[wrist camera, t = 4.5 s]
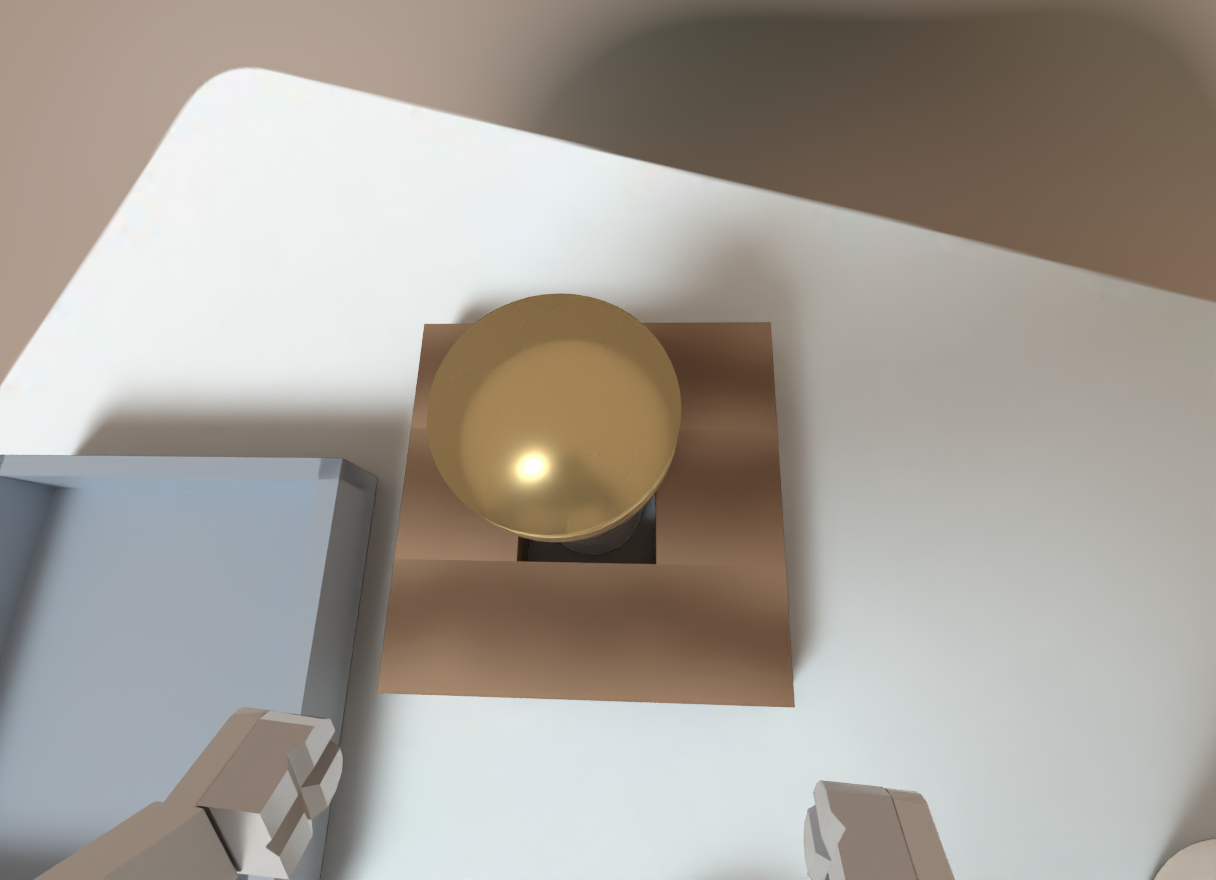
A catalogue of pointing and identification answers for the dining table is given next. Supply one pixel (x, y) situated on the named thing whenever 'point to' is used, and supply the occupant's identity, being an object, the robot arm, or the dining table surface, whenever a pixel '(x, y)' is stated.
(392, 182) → the dining table surface
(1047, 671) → the dining table surface
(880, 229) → the dining table surface
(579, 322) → the pin
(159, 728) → the tray
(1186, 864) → the cup
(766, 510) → the socket block
